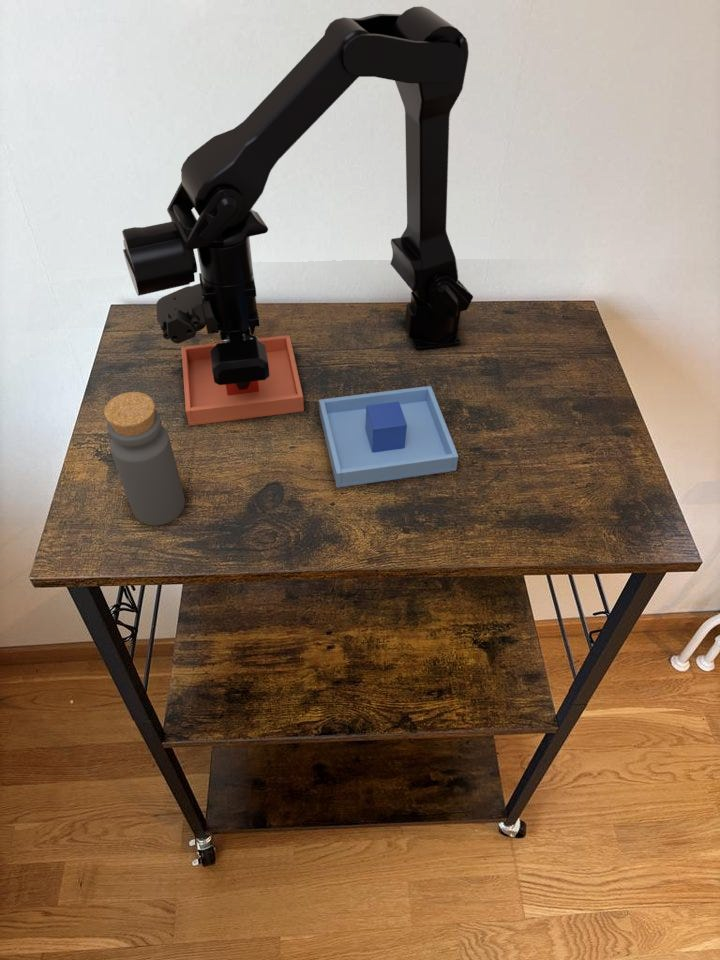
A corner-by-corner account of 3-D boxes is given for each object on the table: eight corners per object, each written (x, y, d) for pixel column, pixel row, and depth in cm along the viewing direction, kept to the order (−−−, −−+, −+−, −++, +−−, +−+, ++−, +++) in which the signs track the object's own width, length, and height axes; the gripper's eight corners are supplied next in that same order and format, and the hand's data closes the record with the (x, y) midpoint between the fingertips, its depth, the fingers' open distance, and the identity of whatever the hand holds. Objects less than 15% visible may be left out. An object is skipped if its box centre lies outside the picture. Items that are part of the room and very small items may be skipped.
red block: (255, 371, 96) (253, 346, 92) (259, 391, 93) (256, 367, 90) (225, 374, 95) (221, 350, 92) (227, 395, 92) (223, 371, 89)
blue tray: (429, 400, 93) (431, 385, 91) (456, 470, 86) (458, 456, 84) (319, 414, 91) (318, 399, 89) (336, 487, 84) (336, 473, 82)
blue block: (397, 424, 90) (399, 401, 87) (404, 448, 87) (407, 424, 84) (365, 429, 89) (366, 405, 86) (372, 452, 86) (373, 429, 83)
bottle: (174, 530, 79) (146, 434, 68) (123, 521, 80) (87, 424, 68) (193, 490, 83) (169, 392, 72) (144, 481, 84) (113, 383, 72)
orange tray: (290, 349, 99) (289, 334, 97) (304, 411, 92) (303, 396, 90) (184, 361, 97) (181, 346, 95) (189, 426, 89) (185, 411, 88)
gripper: (151, 232, 86) (174, 338, 98) (154, 330, 74) (180, 437, 86) (246, 224, 88) (257, 329, 100) (264, 319, 76) (274, 425, 88)
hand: (241, 377), depth 93 cm, fingers closed on red block, 4 cm apart
